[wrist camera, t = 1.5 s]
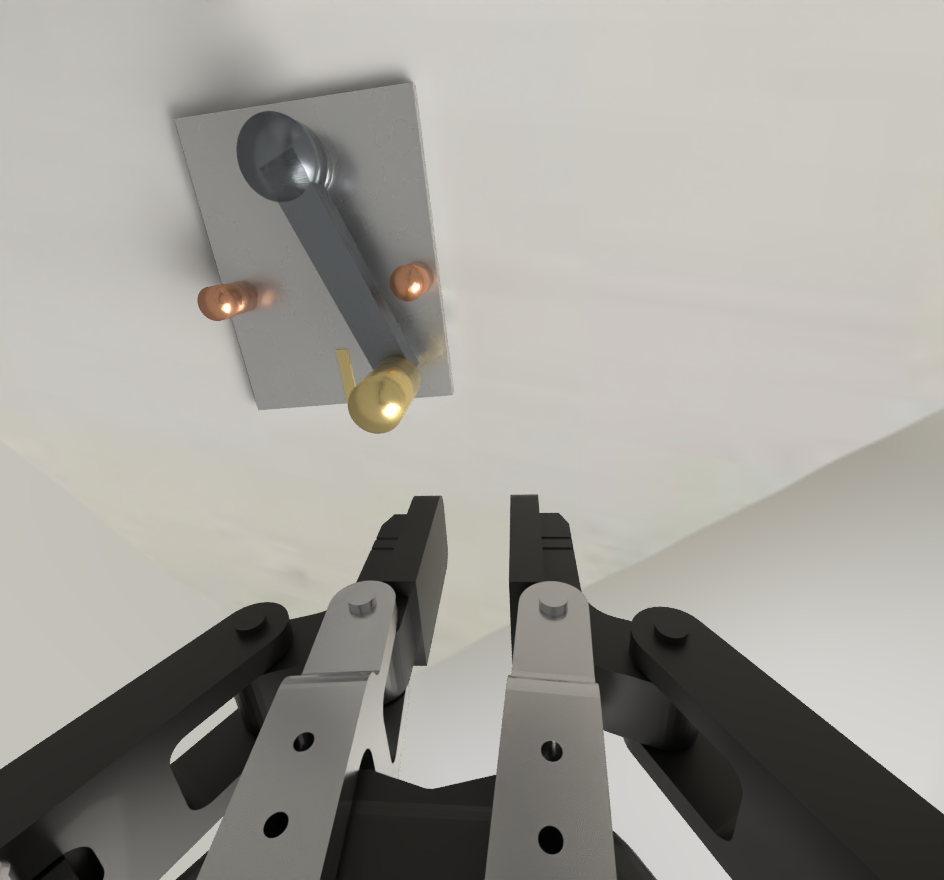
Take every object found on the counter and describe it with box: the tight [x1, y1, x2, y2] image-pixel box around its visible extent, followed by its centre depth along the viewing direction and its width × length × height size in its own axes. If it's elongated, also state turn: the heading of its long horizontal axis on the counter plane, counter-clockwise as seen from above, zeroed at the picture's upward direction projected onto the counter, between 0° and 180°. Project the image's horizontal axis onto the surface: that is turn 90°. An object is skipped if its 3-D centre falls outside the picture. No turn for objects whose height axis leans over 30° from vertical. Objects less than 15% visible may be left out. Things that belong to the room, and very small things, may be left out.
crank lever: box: [236, 111, 421, 434], centre depth 24 cm, size 15×4×7 cm, turn 26°
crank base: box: [174, 82, 454, 410], centre depth 27 cm, size 16×13×4 cm
